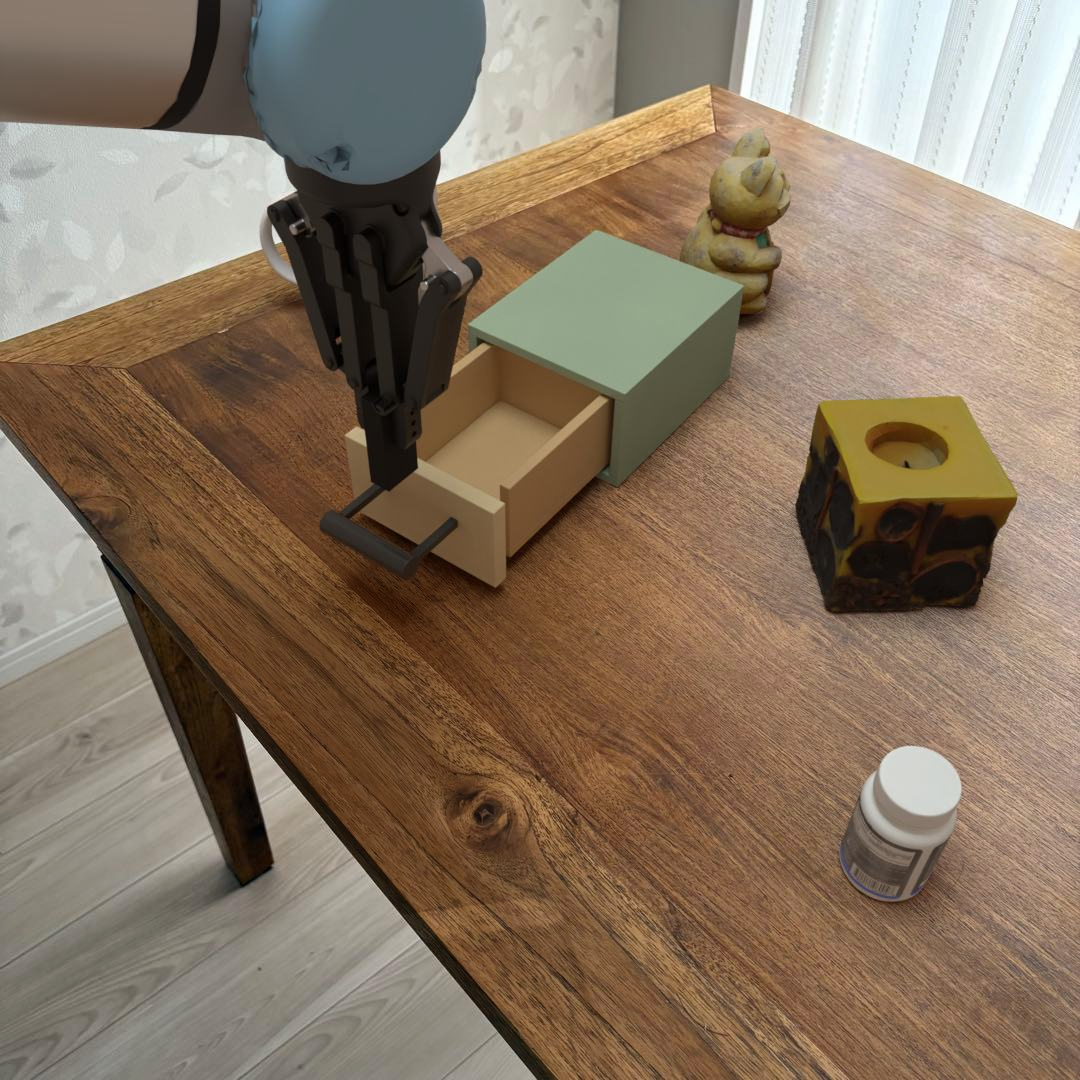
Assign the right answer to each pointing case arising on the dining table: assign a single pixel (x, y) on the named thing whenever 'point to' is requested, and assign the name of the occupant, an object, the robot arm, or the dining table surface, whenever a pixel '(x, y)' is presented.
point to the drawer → (481, 467)
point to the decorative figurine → (742, 221)
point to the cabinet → (623, 336)
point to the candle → (901, 503)
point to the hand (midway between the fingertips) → (394, 474)
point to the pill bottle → (901, 824)
